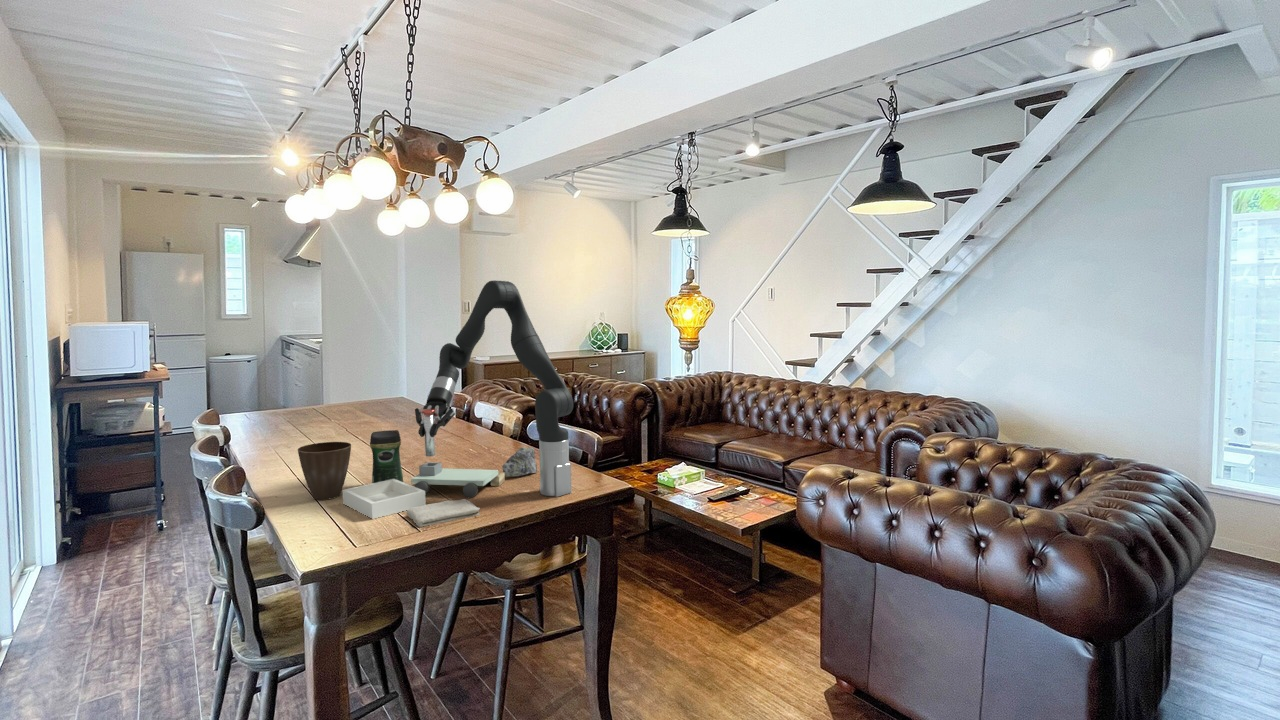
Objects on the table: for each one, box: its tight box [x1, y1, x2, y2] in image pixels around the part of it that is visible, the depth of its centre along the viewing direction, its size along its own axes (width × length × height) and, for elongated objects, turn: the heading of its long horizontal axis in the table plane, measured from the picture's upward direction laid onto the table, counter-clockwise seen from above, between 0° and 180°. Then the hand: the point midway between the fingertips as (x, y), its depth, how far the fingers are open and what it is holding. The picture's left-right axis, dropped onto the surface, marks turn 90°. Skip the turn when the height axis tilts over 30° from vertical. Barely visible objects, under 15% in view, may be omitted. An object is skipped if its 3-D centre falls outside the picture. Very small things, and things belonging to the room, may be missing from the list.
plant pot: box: [297, 441, 352, 500], centre depth 192 cm, size 15×15×16 cm
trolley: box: [410, 461, 499, 499], centre depth 199 cm, size 24×16×8 cm, turn 83°
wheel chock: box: [490, 471, 506, 487], centre depth 205 cm, size 3×5×3 cm, turn 173°
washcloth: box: [406, 498, 481, 528], centre depth 174 cm, size 12×18×3 cm, turn 126°
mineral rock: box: [501, 446, 538, 477], centre depth 216 cm, size 13×11×10 cm
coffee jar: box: [369, 429, 404, 484], centre depth 203 cm, size 10×8×19 cm
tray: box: [342, 479, 427, 520], centre depth 184 cm, size 20×16×4 cm
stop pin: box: [421, 409, 436, 457], centre depth 199 cm, size 4×4×15 cm
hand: (426, 435), depth 197 cm, fingers closed on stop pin, 3 cm apart
